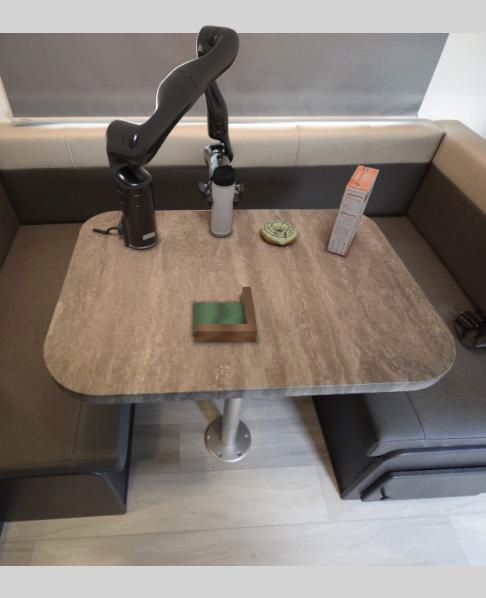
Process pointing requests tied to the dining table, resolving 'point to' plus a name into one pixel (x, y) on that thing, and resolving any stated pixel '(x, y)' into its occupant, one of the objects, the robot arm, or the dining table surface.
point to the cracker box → (351, 209)
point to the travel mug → (222, 200)
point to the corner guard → (226, 320)
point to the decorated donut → (278, 232)
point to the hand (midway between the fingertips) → (223, 203)
